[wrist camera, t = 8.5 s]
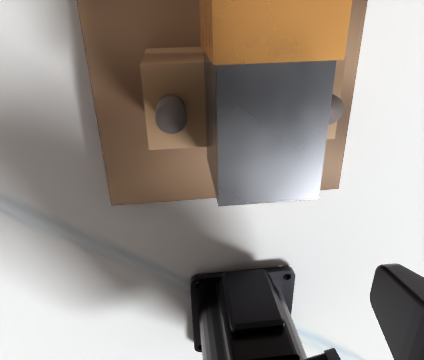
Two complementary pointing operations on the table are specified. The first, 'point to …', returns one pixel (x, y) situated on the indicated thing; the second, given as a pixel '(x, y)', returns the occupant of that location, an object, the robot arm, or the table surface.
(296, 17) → the spanner bar
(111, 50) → the tool rack
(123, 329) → the table surface
